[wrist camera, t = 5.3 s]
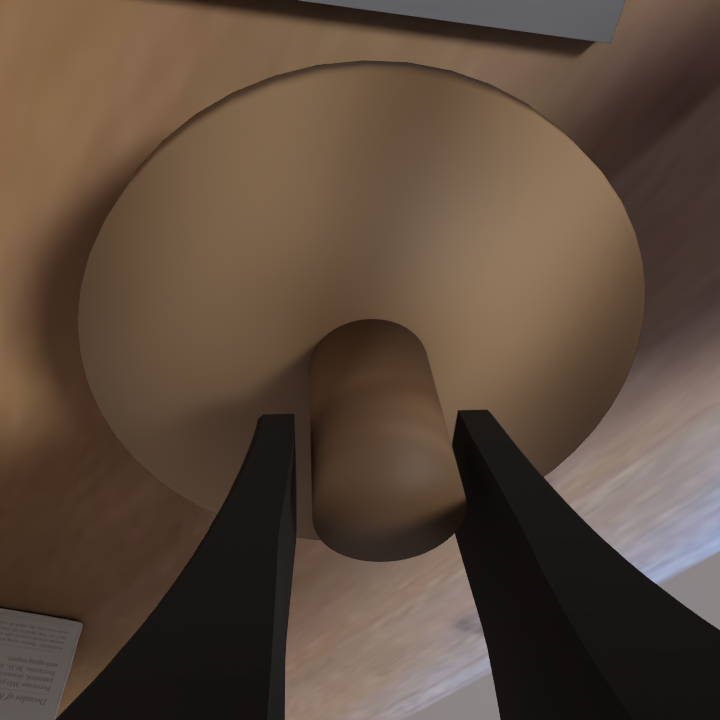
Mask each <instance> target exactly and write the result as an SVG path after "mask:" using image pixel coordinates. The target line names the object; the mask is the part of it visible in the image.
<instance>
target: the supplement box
mask: <svg viewBox="0 0 720 720" xmlns="http://www.w3.org/2000/svg"><path fill="white" fill-rule="evenodd" d="M82 627H83V624H82V623H80V622H77V621H71V620H68V619H61V618H55V617H50V616H44V615H38V614H32V613H26V612H21V611H15V610H9V609H1V608H0V720H55V719H56V716H57V712H58V709H59V706H60V702H61V699H62V696H63V692H64V689H65V686H66V682H67V679H68V676H69V672H70V669H71V665H72V662H73V658H74V655H75V651H76V647H77V644H78V640H79V637H80V634H81V631H82Z"/></svg>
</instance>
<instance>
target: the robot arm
mask: <svg viewBox="0 0 720 720" xmlns="http://www.w3.org/2000/svg"><path fill="white" fill-rule="evenodd" d="M452 448H453V452H454V456H455V460H456V463H457V467H458V471H459V474H460V478H461V482H462V485H463V489H464V493H465V496H466V502H467V505H466V513H465V517H464V519H463V521H462V523H461V525H460V526H459V528H458V529H457V530H456V532H455V535H456V539H457V542H458V546H459V549H460V553H461V556H462V560H463V563H464V566H465V570H466V573H467V577H468V580H469V584H470V587H471V590H472V594H473V597H474V601H475V604H476V607H477V611H478V614H479V618H480V621H481V625H482V628H483V632H484V636H485V640H486V644H487V648H488V653H489V659H490V664H491V669H492V675H493V680H494V684H495V690H496V696H497V701H498V707H499V713H500V718H501V720H720V630H719V629H717V628H716V627H714V626H713V625H711V624H710V623H708V622H707V621H705V620H704V619H702V618H701V617H700V616H698V615H697V614H695V613H694V612H693V611H691V610H690V609H688V608H687V607H685V606H684V605H683V604H682V603H680V602H679V601H677V600H676V599H675V598H674V597H672V596H671V595H670V594H668V593H667V592H666V591H665V590H663V589H662V588H661V587H659V586H658V585H657V584H655V583H654V582H653V581H651V580H650V579H649V578H647V577H646V576H645V575H644V574H643V573H641V572H640V571H639V570H638V569H636V568H635V567H634V566H633V565H632V564H630V563H629V562H628V561H627V560H626V559H625V558H624V557H622V556H621V555H620V554H619V553H618V552H617V551H616V550H615V549H613V548H612V547H611V546H610V545H609V544H608V543H607V542H606V541H604V540H603V539H602V538H601V537H600V536H599V535H598V534H597V533H596V532H595V531H594V530H593V529H592V528H591V527H590V526H589V525H588V524H587V523H586V522H585V521H584V520H583V519H582V518H581V517H580V516H579V515H578V514H577V513H576V512H575V511H574V510H573V509H572V508H571V507H570V506H569V505H568V504H567V503H566V502H565V501H564V500H563V498H562V497H561V496H560V495H559V494H558V493H557V492H556V491H555V490H554V489H553V487H552V486H551V485H550V484H549V483H548V482H547V481H546V480H545V478H544V477H543V476H542V475H541V474H540V473H539V472H538V470H537V469H536V468H535V467H534V466H533V465H532V463H531V462H530V461H529V460H528V459H527V457H526V456H525V455H524V454H523V453H522V451H521V450H520V449H519V448H518V446H517V445H516V444H515V443H514V441H513V440H512V439H511V438H510V436H509V435H508V434H507V433H506V431H505V430H504V429H503V428H502V426H501V425H500V424H499V422H498V421H497V420H496V419H495V417H494V416H493V415H492V414H491V413H490V412H489V411H488V410H458V413H457V418H456V424H455V429H454V435H453V441H452ZM296 534H297V483H296V449H295V415H294V414H263V415H262V416H261V417H260V418H258V421H257V425H256V429H255V432H254V435H253V438H252V441H251V444H250V447H249V449H248V452H247V454H246V457H245V459H244V461H243V464H242V466H241V468H240V471H239V473H238V475H237V477H236V479H235V481H234V483H233V485H232V487H231V489H230V491H229V494H228V496H227V497H226V499H225V501H224V503H223V505H222V507H221V509H220V510H219V512H218V514H217V516H216V517H215V519H214V521H213V523H212V525H211V526H210V528H209V530H208V532H207V533H206V535H205V537H204V538H203V540H202V542H201V543H200V545H199V546H198V548H197V550H196V551H195V553H194V554H193V556H192V557H191V559H190V560H189V562H188V563H187V565H186V566H185V568H184V569H183V571H182V572H181V574H180V575H179V577H178V578H177V579H176V581H175V582H174V584H173V585H172V586H171V588H170V589H169V590H168V592H167V593H166V594H165V596H164V597H163V598H162V600H161V601H160V603H159V604H158V605H157V607H156V608H155V609H154V610H153V612H152V613H151V614H150V616H149V617H148V618H147V619H146V621H145V622H144V623H143V624H142V626H141V627H140V628H139V629H138V630H137V632H136V633H135V634H134V635H133V636H132V637H131V639H130V640H129V641H128V642H127V643H126V644H125V645H124V647H123V648H122V649H121V650H120V651H119V652H118V654H117V655H116V656H115V657H114V658H113V659H112V661H111V662H110V663H109V664H108V665H107V666H106V668H105V669H104V670H103V671H102V672H101V673H100V674H99V675H98V676H97V677H96V679H95V680H94V681H93V682H92V683H91V684H90V685H89V686H88V687H87V688H86V689H85V690H84V691H83V692H82V693H81V694H80V695H79V696H78V697H77V698H76V699H75V700H74V701H73V702H72V703H71V704H70V705H69V706H68V707H67V708H66V709H65V710H64V711H63V712H62V713H61V714H60V715H59V716H58V718H57V719H56V720H285V655H286V638H287V627H288V617H289V606H290V596H291V586H292V576H293V565H294V555H295V544H296Z"/></svg>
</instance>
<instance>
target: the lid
mask: <svg viewBox="0 0 720 720" xmlns="http://www.w3.org/2000/svg"><path fill="white" fill-rule="evenodd" d="M644 306H645V283H644V270H643V261H642V257H641V253H640V249H639V246H638V242H637V238H636V234H635V231H634V228H633V226H632V224H631V222H630V219H629V217H628V215H627V213H626V210H625V208H624V206H623V204H622V201H621V200H620V198H619V197H618V195H617V194H616V192H615V191H614V189H613V188H612V186H611V185H610V183H609V182H608V180H607V179H606V177H605V176H604V174H603V173H602V171H601V170H600V169H599V168H598V167H597V166H596V165H595V164H594V163H593V162H592V161H591V160H590V159H589V158H588V157H587V156H586V155H585V154H584V153H583V152H582V150H581V149H580V148H579V147H578V146H577V145H576V144H575V143H574V142H573V141H572V140H571V139H570V138H568V137H567V136H566V135H565V134H564V133H563V132H562V131H561V130H560V129H559V128H558V127H557V126H555V125H554V124H553V123H552V122H550V121H549V120H548V119H546V118H545V117H544V116H542V115H541V114H540V113H538V112H537V111H536V110H534V109H533V108H532V107H530V106H529V105H528V104H526V103H524V102H523V101H521V100H519V99H517V98H515V97H513V96H511V95H509V94H508V93H506V92H504V91H502V90H500V89H498V88H496V87H494V86H492V85H491V84H488V83H485V82H482V81H479V80H476V79H473V78H471V77H468V76H465V75H462V74H459V73H456V72H453V71H450V70H445V69H440V68H434V67H429V66H424V65H418V64H413V63H408V62H385V61H354V62H344V63H334V64H324V65H316V66H312V67H308V68H304V69H300V70H296V71H292V72H288V73H284V74H280V75H276V76H273V77H270V78H268V79H265V80H263V81H260V82H258V83H255V84H253V85H250V86H248V87H245V88H243V89H240V90H238V91H235V92H233V93H231V94H230V95H228V96H226V97H224V98H223V99H221V100H219V101H218V102H216V103H214V104H212V105H211V106H209V107H207V108H206V109H204V110H202V111H200V112H199V113H197V114H195V115H194V116H193V117H192V118H190V119H189V120H188V121H187V122H185V123H184V124H183V125H182V126H181V127H179V128H178V129H177V130H176V131H174V132H173V133H172V134H171V135H169V136H168V137H167V138H166V139H164V140H163V141H162V142H161V143H160V145H159V146H158V147H157V148H156V149H155V150H154V151H153V152H152V153H151V154H150V156H149V157H148V158H147V159H146V160H145V161H144V162H143V163H142V164H141V165H140V166H139V168H138V169H137V170H136V172H135V173H134V175H133V176H132V178H131V179H130V181H129V182H128V184H127V185H126V187H125V188H124V190H123V191H122V193H121V194H120V196H119V197H118V199H117V200H116V202H115V204H114V206H113V207H112V209H111V211H110V213H109V214H108V216H107V218H106V219H105V221H104V223H103V225H102V228H101V230H100V232H99V234H98V237H97V239H96V241H95V243H94V246H93V248H92V250H91V252H90V255H89V257H88V261H87V265H86V269H85V273H84V277H83V281H82V285H81V289H80V298H79V311H78V334H79V344H80V355H81V359H82V362H83V366H84V370H85V374H86V378H87V382H88V385H89V387H90V389H91V392H92V394H93V396H94V399H95V401H96V403H97V405H98V408H99V410H100V412H101V414H102V415H103V417H104V418H105V420H106V422H107V423H108V425H109V426H110V428H111V430H112V431H113V433H114V434H115V436H116V437H117V438H118V440H119V441H120V442H121V443H122V444H123V446H124V447H125V448H126V449H127V450H128V452H129V453H130V454H131V455H132V456H133V457H134V459H135V460H137V461H138V462H139V463H140V464H141V465H142V466H143V467H144V468H145V469H146V470H147V471H148V472H150V473H151V474H152V475H153V476H154V477H155V478H156V479H158V480H159V481H160V482H162V483H163V484H165V485H166V486H167V487H169V488H170V489H171V490H173V491H174V492H176V493H177V494H178V495H180V496H182V497H184V498H185V499H187V500H189V501H191V502H192V503H194V504H196V505H198V506H199V507H201V508H203V509H205V510H207V511H210V512H212V513H214V514H216V515H217V514H218V512H219V510H220V509H221V507H222V505H223V503H224V501H225V499H226V497H227V496H228V494H229V491H230V489H231V487H232V485H233V483H234V481H235V479H236V477H237V475H238V473H239V471H240V468H241V466H242V464H243V461H244V459H245V457H246V454H247V452H248V449H249V447H250V444H251V441H252V438H253V435H254V432H255V429H256V425H257V421H258V418H260V417H261V416H262V415H263V414H294V415H295V449H296V483H297V534H296V537H299V538H306V539H315V540H322V541H323V542H324V544H326V545H327V546H328V547H329V548H331V549H332V550H334V551H336V552H337V553H340V554H342V555H344V556H347V557H350V558H354V559H358V560H363V561H373V562H388V561H397V560H403V559H408V558H411V557H415V556H418V555H421V554H423V553H426V552H428V551H430V550H432V549H434V548H436V547H437V546H439V545H441V544H442V543H444V542H445V541H446V540H448V539H449V538H450V537H451V536H452V535H453V534H454V533H455V532H456V530H457V529H458V528H459V526H460V525H461V523H462V521H463V519H464V517H465V513H466V505H467V502H466V496H465V493H464V489H463V485H462V482H461V478H460V474H459V471H458V467H457V463H456V460H455V456H454V452H453V448H452V441H453V435H454V429H455V424H456V418H457V413H458V410H488V411H489V412H490V413H491V414H492V415H493V416H494V417H495V419H496V420H497V421H498V422H499V424H500V425H501V426H502V428H503V429H504V430H505V431H506V433H507V434H508V435H509V436H510V438H511V439H512V440H513V441H514V443H515V444H516V445H517V446H518V448H519V449H520V450H521V451H522V453H523V454H524V455H525V456H526V457H527V459H528V460H529V461H530V462H531V463H532V465H533V466H534V467H535V468H536V469H537V470H538V472H539V473H540V474H541V475H542V476H543V477H544V476H546V475H547V474H548V473H550V472H551V471H553V470H554V469H555V468H556V467H557V466H558V465H559V464H561V463H562V462H563V461H564V460H565V459H566V458H567V457H568V456H570V455H571V454H572V453H573V452H574V451H575V450H576V449H577V448H578V447H579V446H580V445H581V444H582V442H583V441H584V440H585V439H586V438H587V437H588V436H589V435H590V434H591V433H592V432H593V430H594V429H595V428H596V426H597V425H598V424H599V422H600V421H601V420H602V418H603V417H604V415H605V414H606V413H607V411H608V410H609V409H610V407H611V406H612V404H613V402H614V400H615V398H616V397H617V395H618V393H619V391H620V389H621V388H622V386H623V384H624V382H625V380H626V378H627V375H628V373H629V370H630V368H631V365H632V363H633V360H634V358H635V355H636V352H637V347H638V343H639V339H640V335H641V331H642V327H643V318H644Z"/></svg>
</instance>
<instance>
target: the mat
mask: <svg viewBox="0 0 720 720" xmlns="http://www.w3.org/2000/svg"><path fill="white" fill-rule="evenodd" d="M300 1H307V2H314V3H321V4H329V5H336V6H343V7H350V8H357V9H365V10H372V11H379V12H386V13H394V14H401V15H408V16H415V17H423V18H430V19H437V20H444V21H451V22H459V23H466V24H473V25H480V26H488V27H495V28H502V29H509V30H517V31H524V32H531V33H538V34H545V35H553V36H560V37H567V38H574V39H582V40H589V41H596V42H603V43H610V44H611V42H612V39H613V36H614V33H615V30H616V27H617V24H618V21H619V18H620V15H621V12H622V9H623V6H624V3H625V0H300Z"/></svg>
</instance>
